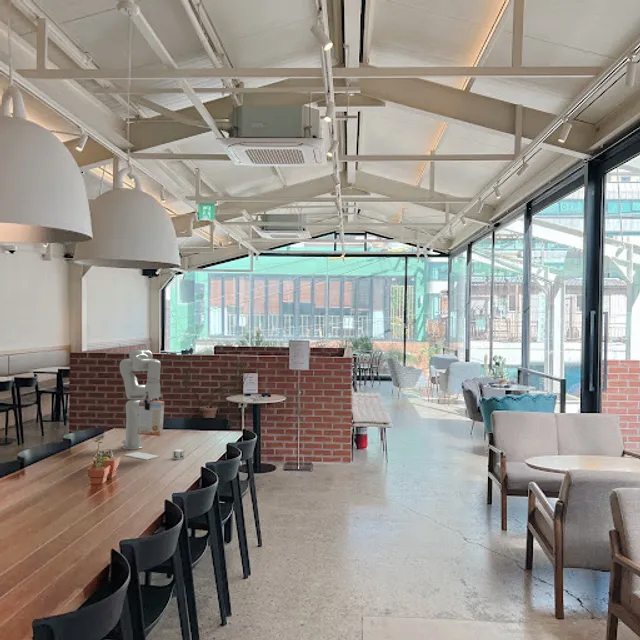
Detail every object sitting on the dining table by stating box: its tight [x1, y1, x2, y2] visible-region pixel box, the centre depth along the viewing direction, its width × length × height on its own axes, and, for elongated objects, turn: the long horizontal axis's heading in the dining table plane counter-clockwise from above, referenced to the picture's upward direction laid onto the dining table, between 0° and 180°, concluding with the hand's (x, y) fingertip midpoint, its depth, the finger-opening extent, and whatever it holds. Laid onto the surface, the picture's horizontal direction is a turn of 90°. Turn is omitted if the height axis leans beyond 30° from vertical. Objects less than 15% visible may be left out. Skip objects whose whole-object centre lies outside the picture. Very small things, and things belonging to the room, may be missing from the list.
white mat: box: [123, 451, 160, 461], centre depth 368 cm, size 19×11×1 cm, turn 63°
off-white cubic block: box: [172, 448, 185, 461], centre depth 367 cm, size 5×5×5 cm
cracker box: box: [138, 399, 165, 437], centre depth 366 cm, size 14×6×21 cm, turn 85°
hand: (151, 408), depth 366 cm, fingers closed on cracker box, 7 cm apart
